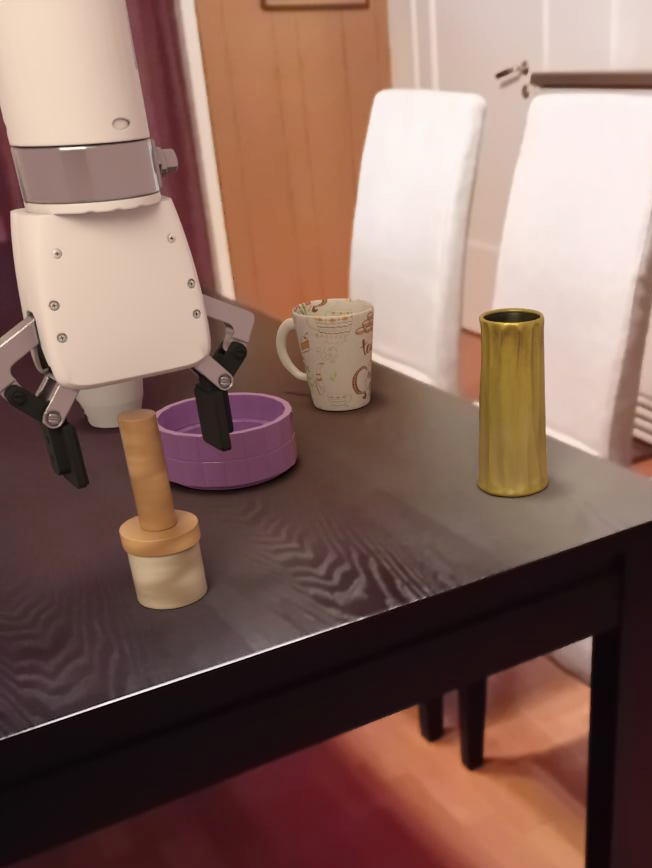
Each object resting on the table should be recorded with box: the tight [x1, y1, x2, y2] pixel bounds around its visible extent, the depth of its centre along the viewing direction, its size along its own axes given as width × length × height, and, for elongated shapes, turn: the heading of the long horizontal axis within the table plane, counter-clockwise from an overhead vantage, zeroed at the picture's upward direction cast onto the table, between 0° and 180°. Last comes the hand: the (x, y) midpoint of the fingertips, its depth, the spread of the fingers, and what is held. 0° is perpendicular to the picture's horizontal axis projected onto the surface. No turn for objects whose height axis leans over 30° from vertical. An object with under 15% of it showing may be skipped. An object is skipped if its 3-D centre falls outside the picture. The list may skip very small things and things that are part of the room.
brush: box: [117, 408, 208, 610], centre depth 68 cm, size 5×5×13 cm
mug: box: [275, 297, 375, 412], centre depth 107 cm, size 8×13×10 cm, turn 61°
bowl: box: [155, 392, 299, 491], centre depth 91 cm, size 12×12×5 cm
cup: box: [75, 378, 144, 429], centre depth 102 cm, size 8×8×10 cm
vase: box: [476, 307, 549, 498], centre depth 83 cm, size 6×6×14 cm
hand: (149, 463), depth 66 cm, fingers open, 9 cm apart
